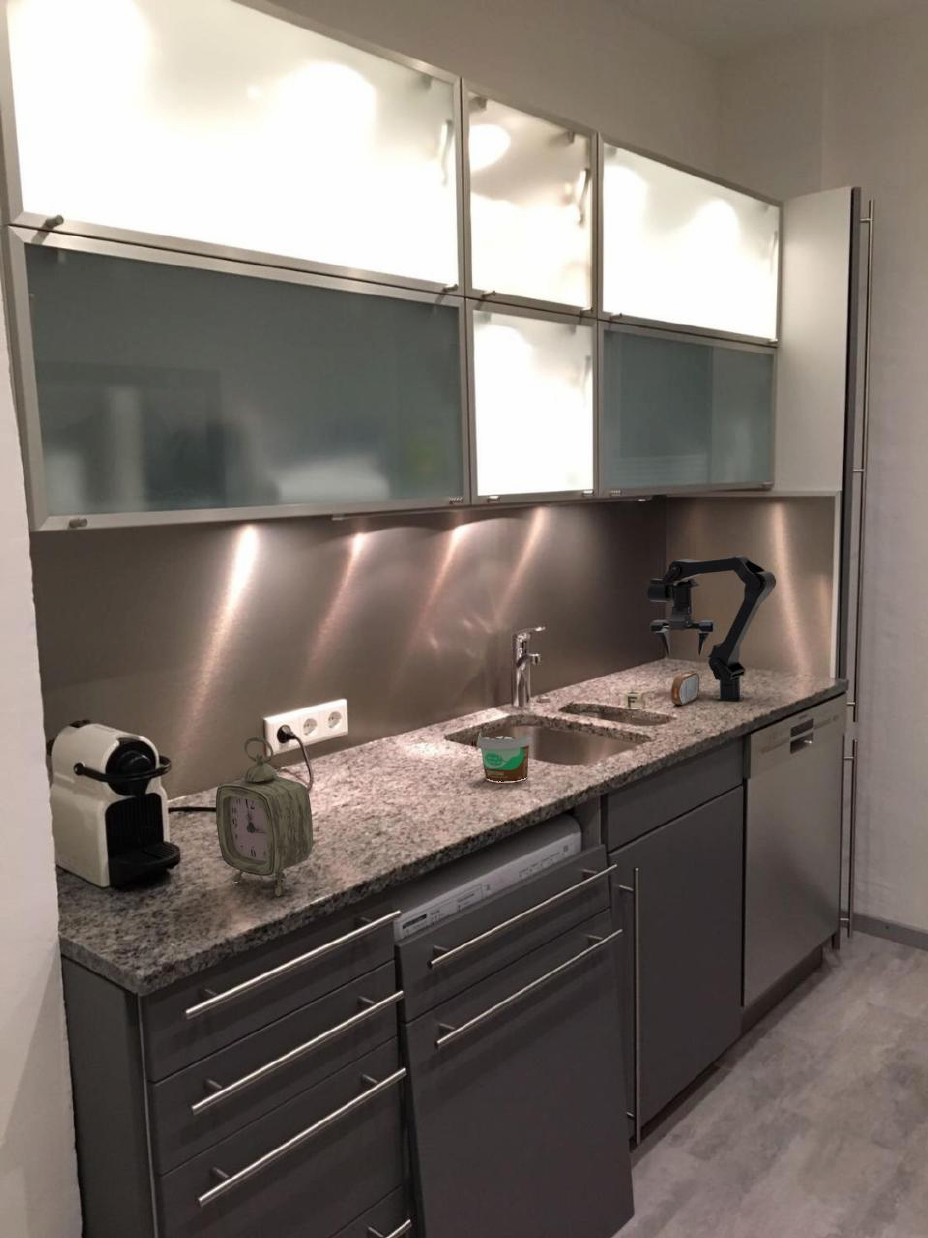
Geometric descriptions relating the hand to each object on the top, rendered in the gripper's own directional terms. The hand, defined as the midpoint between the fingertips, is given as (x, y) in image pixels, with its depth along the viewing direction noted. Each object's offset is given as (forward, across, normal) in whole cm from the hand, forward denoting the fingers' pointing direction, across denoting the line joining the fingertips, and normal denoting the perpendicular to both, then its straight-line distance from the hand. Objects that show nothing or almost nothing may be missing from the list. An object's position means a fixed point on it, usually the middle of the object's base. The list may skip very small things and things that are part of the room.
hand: (684, 654), depth 300 cm
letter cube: (+12, -9, -21) cm, 26 cm away
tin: (+12, +3, -11) cm, 17 cm away
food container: (+12, -15, -99) cm, 101 cm away
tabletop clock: (+12, -27, -165) cm, 168 cm away
